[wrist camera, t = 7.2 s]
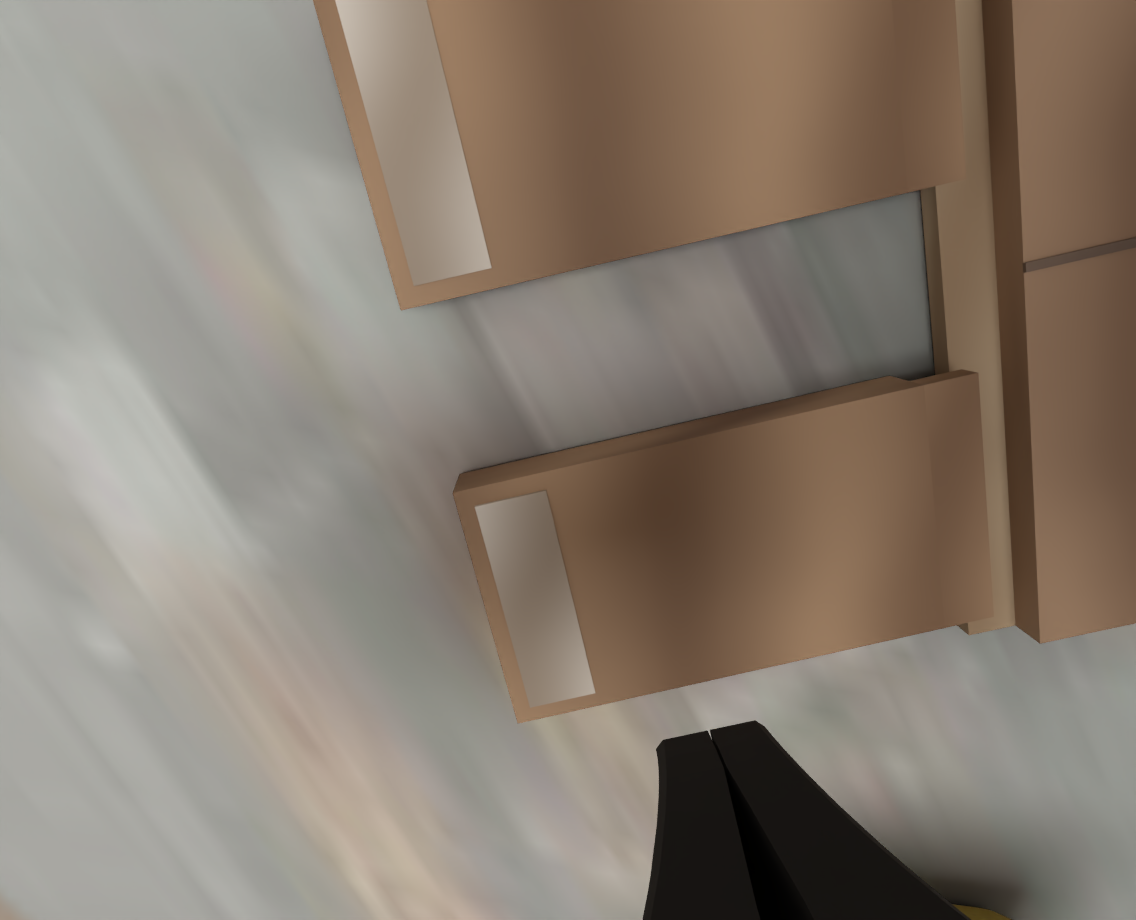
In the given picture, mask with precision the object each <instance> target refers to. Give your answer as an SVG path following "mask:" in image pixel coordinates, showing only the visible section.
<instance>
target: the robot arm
mask: <svg viewBox="0 0 1136 920" xmlns="http://www.w3.org/2000/svg"><path fill="white" fill-rule="evenodd" d="M710 732H711V737H712V740H711V737H710V735H709V733H708V731H703V732H698V733H694V734H689V735H684V736H680V737H675V738H670V739H665V740H663V741H662V742H661V743H660V745H659V746H658V747H657V749H656V751H657V757H658V766H659V802H658V817H657V829H656V837H655V845H654V853H653V861H652V869H651V877H650V883H649V889H648V895H647V900H646V905H645V910H644V915H643V920H971V919H970V918H969V917H967V916H966V915H965V914H964V913H962V912H961V911H960V910H959V909H957V908H956V907H955V906H954V905H952V904H951V903H950V902H949V901H947V900H946V899H945V898H944V897H942V896H941V895H940V894H939V893H938V892H936V891H935V890H934V889H933V888H932V887H930V886H929V885H928V884H927V883H926V882H924V881H923V880H922V879H921V878H920V877H918V876H917V875H916V874H915V873H914V872H912V871H911V870H910V869H909V868H908V867H907V866H905V865H904V864H903V863H902V862H901V861H900V860H898V859H897V858H896V857H895V856H894V855H893V854H892V853H890V852H889V851H888V850H887V849H886V848H885V847H884V846H882V845H881V844H880V843H879V842H878V841H877V840H876V839H875V838H874V837H873V836H872V835H870V834H869V833H868V832H867V831H866V830H865V829H864V828H863V827H862V826H861V825H860V824H859V823H857V822H856V821H855V820H854V819H853V818H852V817H851V816H850V815H849V814H848V813H847V812H846V811H845V810H843V809H842V808H841V807H840V806H839V805H838V804H837V803H836V802H835V801H834V800H833V799H832V798H831V797H830V796H829V795H828V794H827V793H826V792H825V791H824V790H823V789H822V788H821V787H820V786H819V785H818V784H817V783H816V782H815V781H814V780H813V779H812V778H811V777H810V776H809V775H808V774H807V773H806V772H805V771H804V770H803V769H802V768H801V767H800V766H799V765H798V764H797V763H796V762H795V761H794V759H793V758H792V757H791V756H790V755H789V754H788V753H787V752H786V751H785V750H784V749H783V747H782V746H781V745H780V744H779V743H778V742H777V741H776V740H775V738H774V737H773V736H772V735H771V734H770V733H769V731H768V730H767V729H766V728H765V726H763V725H761V724H760V723H758V722H757V721H750V722H746V723H741V724H736V725H731V726H727V727H722V728H717V729H713V730H710Z"/></svg>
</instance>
